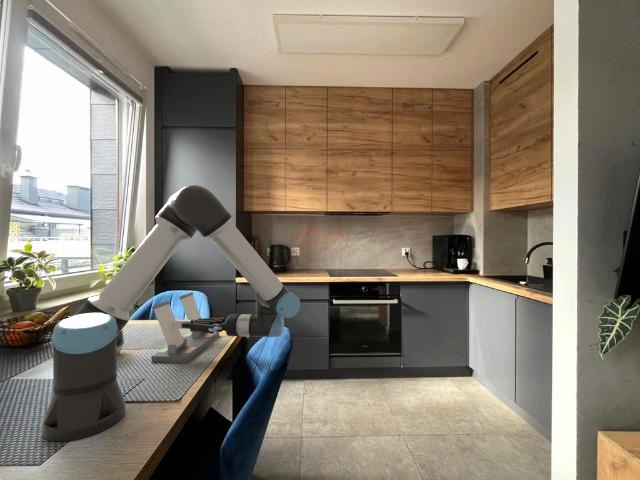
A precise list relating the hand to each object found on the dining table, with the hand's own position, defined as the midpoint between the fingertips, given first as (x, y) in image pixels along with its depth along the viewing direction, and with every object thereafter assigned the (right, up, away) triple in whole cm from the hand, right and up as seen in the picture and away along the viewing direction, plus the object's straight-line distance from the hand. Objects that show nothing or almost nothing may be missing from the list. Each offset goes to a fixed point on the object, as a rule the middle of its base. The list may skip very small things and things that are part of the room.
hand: (174, 324), depth 113 cm
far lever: (+2, -8, +18) cm, 20 cm away
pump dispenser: (-24, -11, 0) cm, 27 cm away
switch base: (+2, -11, +9) cm, 14 cm away
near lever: (+1, -8, 0) cm, 8 cm away
